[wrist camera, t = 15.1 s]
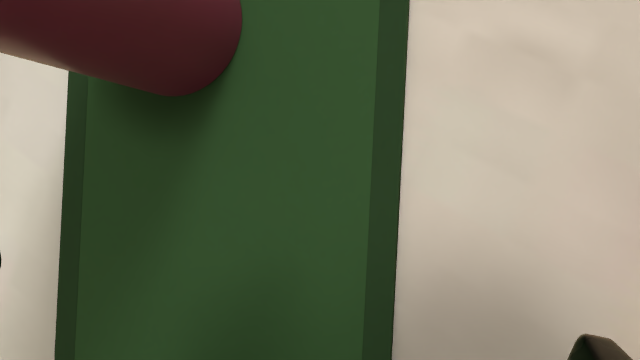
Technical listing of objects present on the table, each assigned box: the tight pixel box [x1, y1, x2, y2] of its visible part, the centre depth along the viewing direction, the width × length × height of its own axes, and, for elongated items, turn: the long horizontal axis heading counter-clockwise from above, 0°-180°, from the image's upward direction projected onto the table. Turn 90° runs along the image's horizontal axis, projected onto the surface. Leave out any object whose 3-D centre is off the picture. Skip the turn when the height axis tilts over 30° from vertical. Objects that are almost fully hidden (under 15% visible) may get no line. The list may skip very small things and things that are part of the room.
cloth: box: [55, 0, 409, 360], centre depth 23 cm, size 22×14×1 cm, turn 177°
